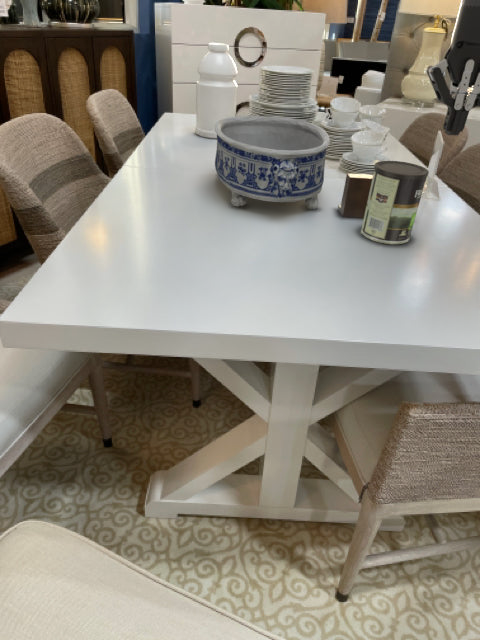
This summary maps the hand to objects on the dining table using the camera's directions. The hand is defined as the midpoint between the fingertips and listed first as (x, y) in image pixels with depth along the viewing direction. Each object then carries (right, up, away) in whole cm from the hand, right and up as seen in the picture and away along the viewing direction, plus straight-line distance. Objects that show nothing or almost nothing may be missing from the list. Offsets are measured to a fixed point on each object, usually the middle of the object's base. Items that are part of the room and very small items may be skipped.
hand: (451, 134), depth 76 cm
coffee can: (-3, -12, +24) cm, 27 cm away
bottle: (-43, +36, +92) cm, 108 cm away
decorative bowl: (-28, +3, +43) cm, 51 cm away
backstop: (-3, -6, +33) cm, 34 cm away
